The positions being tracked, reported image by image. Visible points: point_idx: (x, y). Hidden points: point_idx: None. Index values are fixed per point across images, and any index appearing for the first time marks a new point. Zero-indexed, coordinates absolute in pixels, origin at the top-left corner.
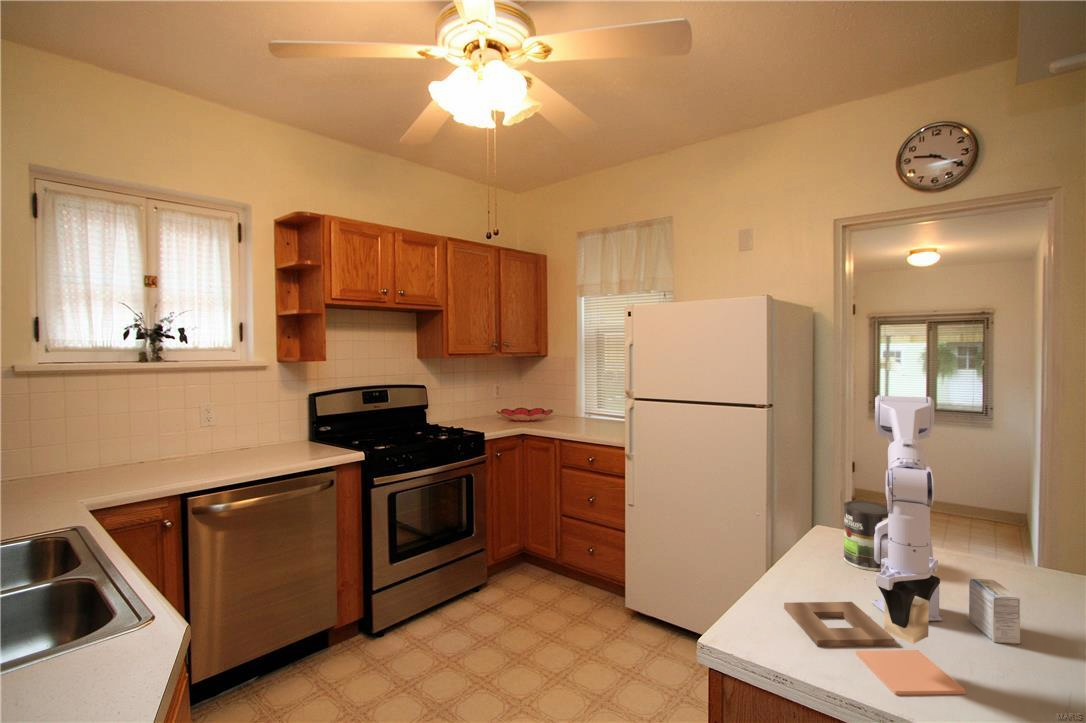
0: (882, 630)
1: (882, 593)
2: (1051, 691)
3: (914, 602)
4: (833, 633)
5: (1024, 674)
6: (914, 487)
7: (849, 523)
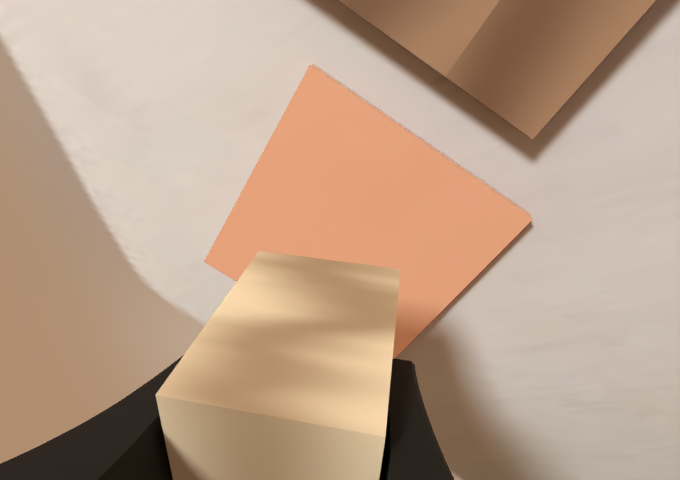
0: (584, 60)
1: (33, 452)
2: (583, 476)
3: None
4: None
5: (640, 435)
6: None
7: None
